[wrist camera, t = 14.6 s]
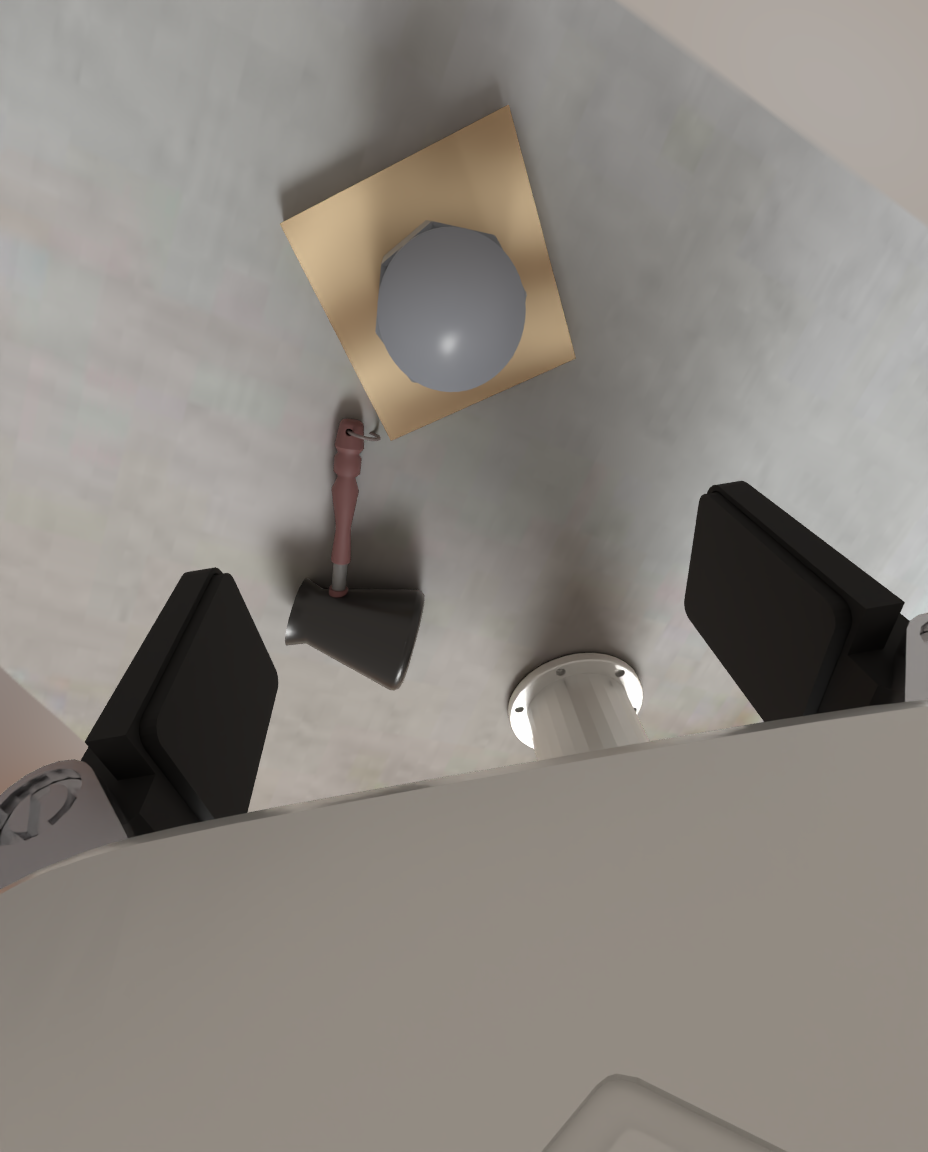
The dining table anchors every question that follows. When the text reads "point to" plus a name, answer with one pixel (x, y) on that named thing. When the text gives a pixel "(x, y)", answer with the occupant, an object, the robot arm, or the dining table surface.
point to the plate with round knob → (388, 215)
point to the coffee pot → (356, 592)
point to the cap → (450, 307)
